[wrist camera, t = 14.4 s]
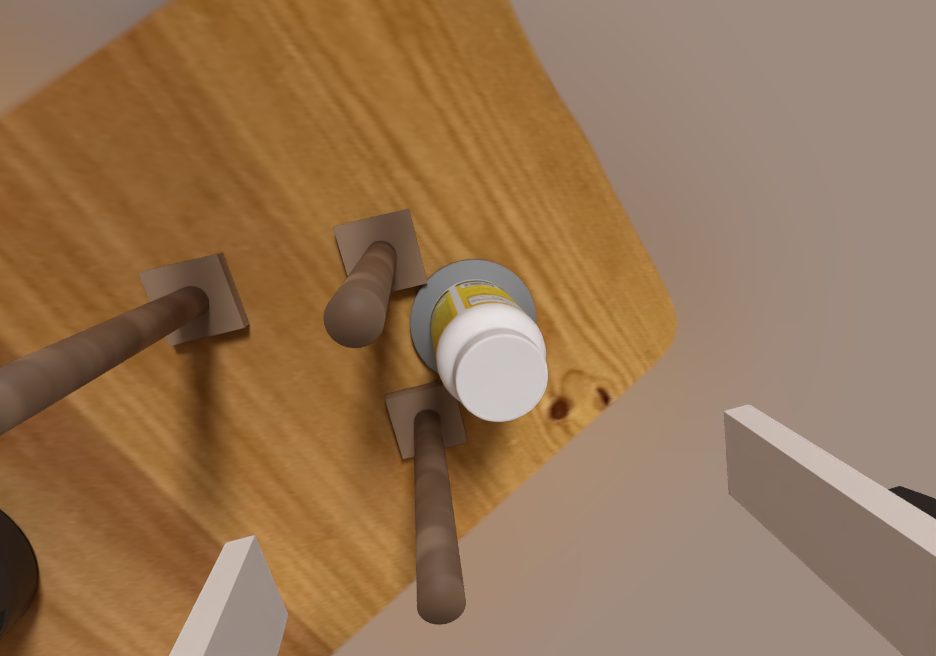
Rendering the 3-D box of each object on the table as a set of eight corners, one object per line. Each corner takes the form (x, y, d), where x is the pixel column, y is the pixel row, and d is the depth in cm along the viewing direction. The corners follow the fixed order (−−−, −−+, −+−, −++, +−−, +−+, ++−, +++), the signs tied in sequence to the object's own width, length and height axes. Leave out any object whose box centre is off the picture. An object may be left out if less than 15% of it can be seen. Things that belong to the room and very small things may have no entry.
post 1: (176, 341, 33) (-63, 497, 16) (146, 270, 32) (-151, 361, 15) (249, 323, 33) (87, 459, 17) (222, 252, 32) (15, 322, 15)
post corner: (356, 297, 34) (304, 404, 17) (335, 225, 32) (255, 265, 15) (426, 280, 34) (444, 368, 17) (408, 208, 32) (408, 228, 16)
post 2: (403, 452, 37) (398, 666, 21) (385, 394, 36) (364, 573, 19) (466, 436, 37) (512, 634, 21) (451, 377, 36) (487, 539, 19)
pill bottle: (459, 377, 35) (480, 458, 25) (412, 308, 34) (413, 364, 23) (531, 332, 35) (584, 395, 25) (488, 260, 33) (525, 295, 23)
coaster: (427, 392, 36) (427, 395, 36) (396, 276, 34) (395, 277, 33) (543, 363, 37) (545, 365, 36) (521, 245, 34) (523, 246, 33)
